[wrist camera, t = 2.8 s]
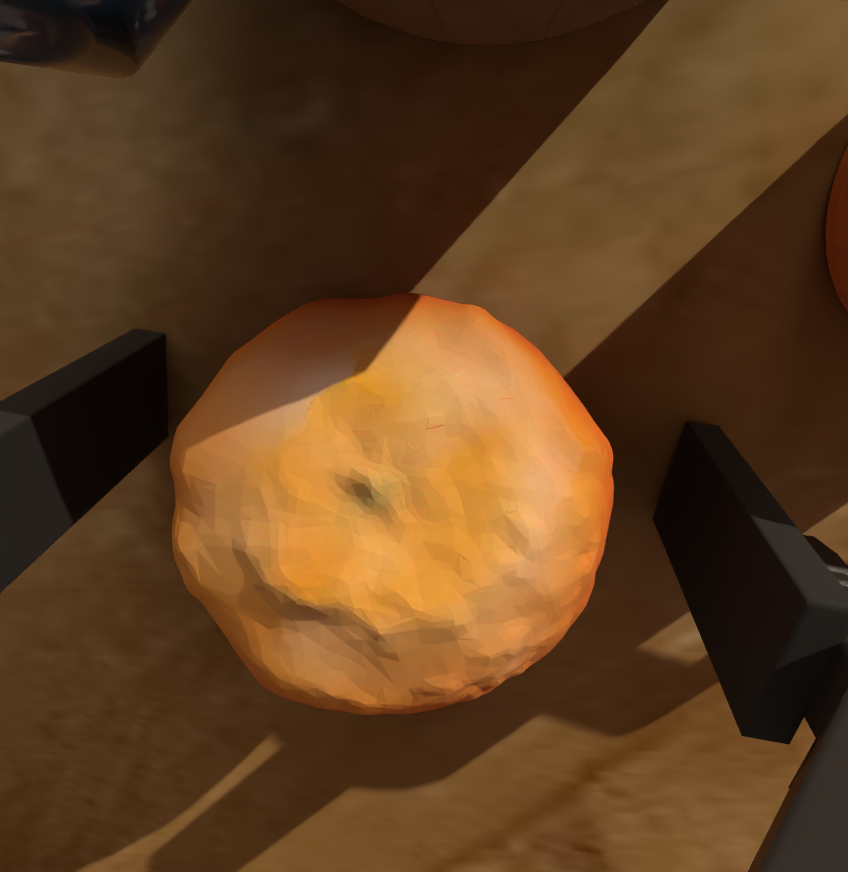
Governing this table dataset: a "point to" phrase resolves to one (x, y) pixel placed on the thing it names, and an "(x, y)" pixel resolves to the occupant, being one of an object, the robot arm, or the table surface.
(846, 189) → the small cup
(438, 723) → the table surface
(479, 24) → the big cup
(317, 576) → the fruit
